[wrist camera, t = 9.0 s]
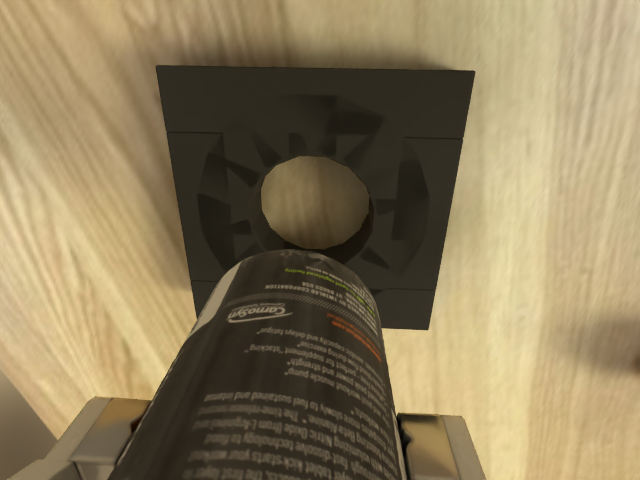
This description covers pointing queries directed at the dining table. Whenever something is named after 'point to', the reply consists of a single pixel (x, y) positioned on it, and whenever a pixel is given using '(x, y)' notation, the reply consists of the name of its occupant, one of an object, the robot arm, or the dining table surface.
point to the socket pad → (324, 141)
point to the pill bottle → (275, 383)
